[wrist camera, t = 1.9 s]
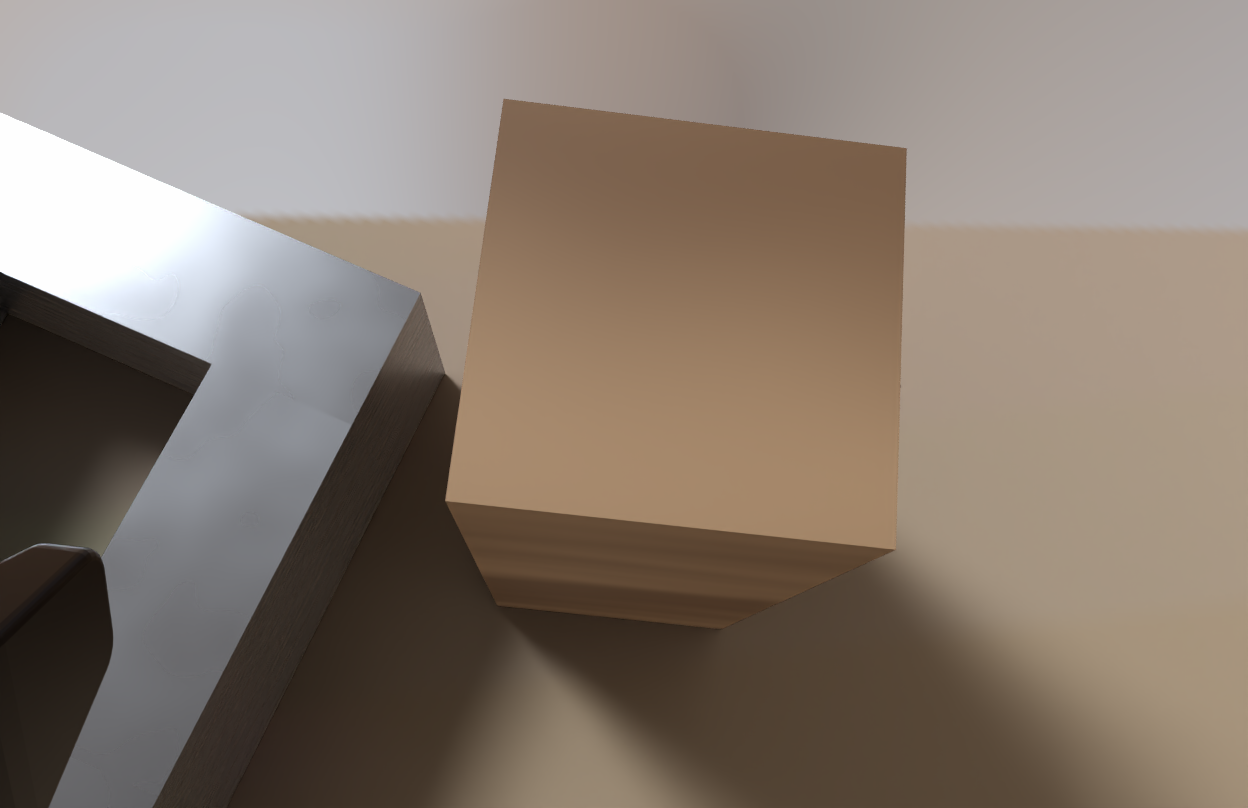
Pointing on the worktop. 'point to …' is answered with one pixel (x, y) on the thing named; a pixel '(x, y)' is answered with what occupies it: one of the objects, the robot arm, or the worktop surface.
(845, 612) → the worktop surface
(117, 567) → the well block
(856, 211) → the brown tall square block
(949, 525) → the worktop surface
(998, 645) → the worktop surface
